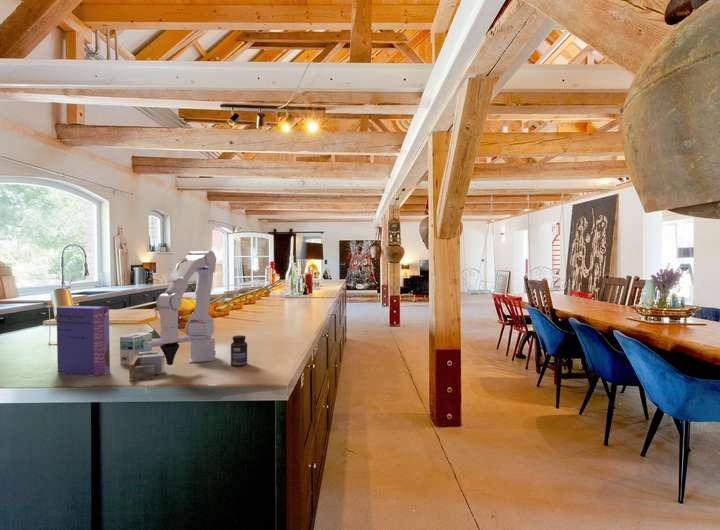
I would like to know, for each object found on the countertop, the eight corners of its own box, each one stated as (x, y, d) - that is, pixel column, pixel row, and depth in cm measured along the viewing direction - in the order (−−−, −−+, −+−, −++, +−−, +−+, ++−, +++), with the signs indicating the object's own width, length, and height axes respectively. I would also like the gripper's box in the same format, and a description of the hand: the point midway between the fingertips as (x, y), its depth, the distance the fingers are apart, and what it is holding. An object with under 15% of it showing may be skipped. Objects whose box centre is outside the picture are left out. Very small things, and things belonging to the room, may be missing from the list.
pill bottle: (232, 367, 152) (232, 338, 152) (229, 364, 158) (229, 335, 158) (249, 365, 155) (248, 337, 155) (245, 362, 161) (245, 334, 160)
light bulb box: (135, 365, 157) (134, 337, 157) (119, 364, 158) (119, 337, 158) (153, 358, 168) (152, 332, 168) (138, 357, 169) (137, 331, 168)
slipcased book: (164, 371, 148) (164, 353, 148) (162, 374, 144) (162, 355, 144) (143, 373, 146) (142, 355, 146) (140, 375, 142) (140, 357, 142)
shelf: (157, 367, 153) (157, 350, 153) (153, 378, 139) (153, 359, 139) (136, 369, 150) (135, 352, 150) (129, 381, 137) (129, 361, 136)
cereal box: (109, 372, 147) (108, 306, 147) (98, 376, 143) (97, 307, 142) (69, 369, 151) (68, 305, 150) (57, 373, 146) (56, 306, 146)
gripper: (184, 323, 154) (184, 358, 154) (143, 328, 143) (144, 366, 144) (193, 325, 150) (193, 361, 150) (151, 330, 139) (152, 370, 139)
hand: (169, 364), depth 146 cm, fingers closed
